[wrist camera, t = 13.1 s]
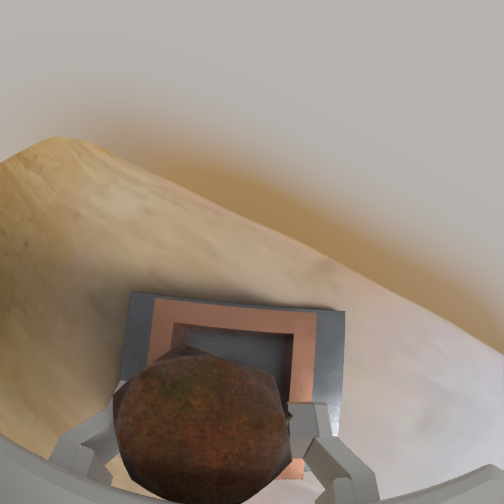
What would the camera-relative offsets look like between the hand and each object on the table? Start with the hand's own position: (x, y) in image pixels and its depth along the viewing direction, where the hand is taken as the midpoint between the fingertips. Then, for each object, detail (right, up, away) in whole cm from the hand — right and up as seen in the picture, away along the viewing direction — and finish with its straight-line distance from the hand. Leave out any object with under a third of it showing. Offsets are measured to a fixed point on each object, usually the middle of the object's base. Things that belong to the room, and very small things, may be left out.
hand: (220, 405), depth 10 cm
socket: (-1, -5, +12) cm, 13 cm away
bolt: (-1, -6, +11) cm, 12 cm away
